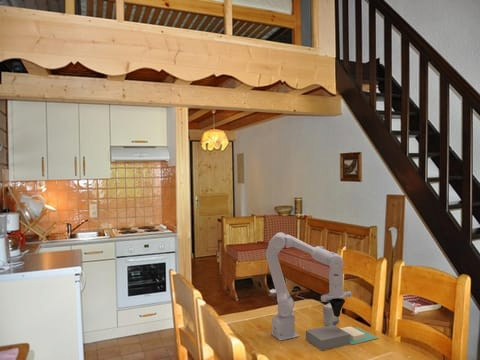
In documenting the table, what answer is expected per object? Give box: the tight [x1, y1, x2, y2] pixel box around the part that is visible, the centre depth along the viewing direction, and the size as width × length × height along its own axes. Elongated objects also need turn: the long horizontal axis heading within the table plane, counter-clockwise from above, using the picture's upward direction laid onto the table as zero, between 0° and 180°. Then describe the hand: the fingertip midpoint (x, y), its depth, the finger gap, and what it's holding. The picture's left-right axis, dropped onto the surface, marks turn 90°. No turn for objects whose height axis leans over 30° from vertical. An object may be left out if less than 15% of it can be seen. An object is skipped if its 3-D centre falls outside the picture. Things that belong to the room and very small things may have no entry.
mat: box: [349, 326, 379, 346], centre depth 158 cm, size 14×13×1 cm
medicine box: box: [322, 302, 340, 326], centre depth 172 cm, size 8×4×9 cm, turn 143°
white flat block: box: [339, 325, 365, 341], centre depth 157 cm, size 6×9×2 cm, turn 23°
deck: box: [305, 325, 351, 352], centre depth 152 cm, size 14×11×4 cm
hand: (336, 315), depth 154 cm, fingers closed
